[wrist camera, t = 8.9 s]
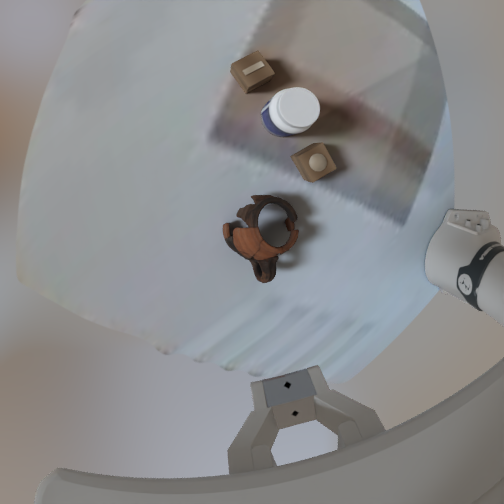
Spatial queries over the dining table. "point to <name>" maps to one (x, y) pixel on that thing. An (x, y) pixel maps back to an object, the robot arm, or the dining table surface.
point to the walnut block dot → (313, 162)
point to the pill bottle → (290, 112)
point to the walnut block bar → (251, 71)
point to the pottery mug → (260, 237)
